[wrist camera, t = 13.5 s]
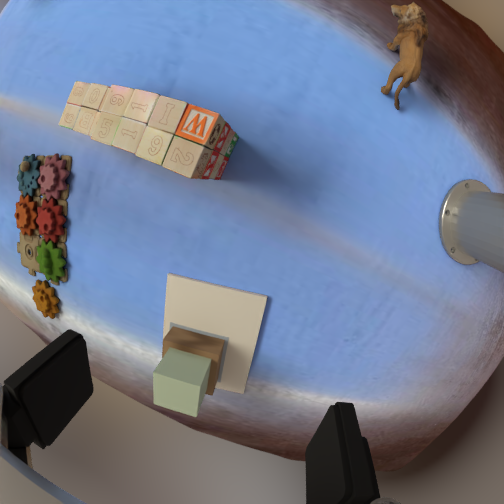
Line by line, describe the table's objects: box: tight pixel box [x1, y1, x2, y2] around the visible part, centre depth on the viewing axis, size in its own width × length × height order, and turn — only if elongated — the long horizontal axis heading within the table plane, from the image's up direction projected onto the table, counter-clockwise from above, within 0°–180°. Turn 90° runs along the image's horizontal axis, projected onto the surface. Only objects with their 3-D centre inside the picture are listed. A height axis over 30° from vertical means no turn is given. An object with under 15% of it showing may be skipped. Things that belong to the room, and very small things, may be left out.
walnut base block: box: [162, 326, 225, 395], centre depth 39 cm, size 8×8×4 cm
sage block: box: [153, 347, 211, 417], centre depth 34 cm, size 6×6×6 cm
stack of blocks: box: [59, 81, 239, 180], centre depth 28 cm, size 21×6×12 cm, turn 66°
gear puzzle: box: [14, 154, 72, 319], centre depth 39 cm, size 31×16×4 cm, turn 170°
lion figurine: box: [381, 2, 428, 110], centre depth 24 cm, size 15×5×9 cm, turn 174°
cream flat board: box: [163, 273, 267, 394], centre depth 40 cm, size 14×18×1 cm
